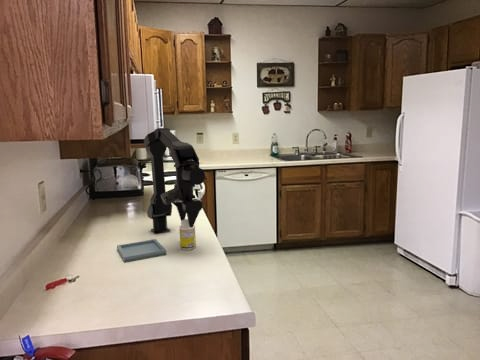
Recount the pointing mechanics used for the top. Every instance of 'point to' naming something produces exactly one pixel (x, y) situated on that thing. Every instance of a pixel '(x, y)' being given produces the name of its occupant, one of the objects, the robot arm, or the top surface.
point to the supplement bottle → (187, 235)
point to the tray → (141, 250)
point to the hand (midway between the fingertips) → (186, 224)
